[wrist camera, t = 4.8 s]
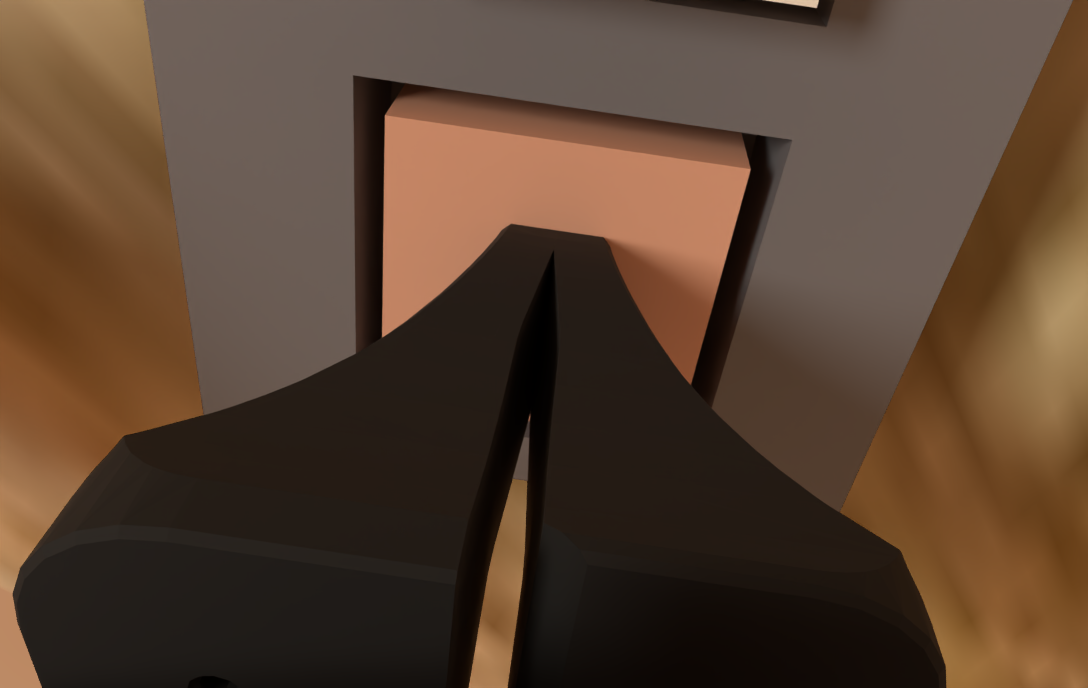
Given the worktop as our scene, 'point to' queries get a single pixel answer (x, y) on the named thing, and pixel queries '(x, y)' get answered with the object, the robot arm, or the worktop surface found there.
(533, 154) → the terracotta key
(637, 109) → the keypad
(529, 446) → the robot arm
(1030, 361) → the worktop surface
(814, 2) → the cream key
